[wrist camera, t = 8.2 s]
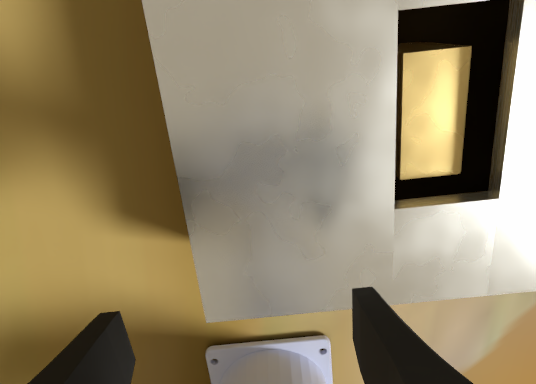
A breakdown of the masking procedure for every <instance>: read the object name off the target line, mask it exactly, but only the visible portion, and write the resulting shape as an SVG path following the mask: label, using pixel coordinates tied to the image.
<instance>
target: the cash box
mask: <svg viewBox="0 0 536 384" xmlns="http://www.w3.org/2000/svg"><path fill="white" fill-rule="evenodd" d="M479 1H488V0H142V4H143V9H144V14H145V19H146V24H147V29H148V34H149V39H150V44H151V49H152V54H153V59H154V64H155V69H156V74H157V79H158V84H159V89H160V94H161V99H162V104H163V109H164V114H165V119H166V124H167V129H168V134H169V139H170V144H171V149H172V154H173V159H174V164H175V169H176V174H177V179H178V184H179V189H180V194H181V199H182V204H183V208H184V213H185V218H186V223H187V228H188V233H189V238H190V243H191V248H192V253H193V258H194V263H195V268H196V273H197V278H198V283H199V288H200V293H201V298H202V303H203V308H204V313H205V318H206V323H210V322H221V321H231V320H241V319H252V318H262V317H272V316H283V315H293V314H303V313H313V312H324V311H334V310H344V309H352V288H362V287H373V288H374V289H376V291H377V292H378V293H379V294H380V295H381V297H382V298H383V299H384V300H385V301H386V302H387V304H388V305H396V304H406V303H417V302H427V301H437V300H448V299H458V298H468V297H479V296H489V295H499V294H510V293H520V292H530V291H536V0H510V4H509V13H508V22H507V30H506V39H505V48H504V57H503V65H502V74H501V83H500V92H499V100H498V109H497V118H496V127H495V135H494V144H493V153H492V162H491V170H490V179H489V188H488V191H482V192H472V193H463V194H453V195H443V196H433V197H423V198H414V199H404V200H395V151H396V98H397V45H398V10H407V9H416V8H425V7H434V6H443V5H452V4H461V3H470V2H479Z"/></svg>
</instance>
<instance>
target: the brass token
mask: <svg viewBox="0 0 536 384" xmlns="http://www.w3.org/2000/svg"><path fill="white" fill-rule="evenodd" d="M471 49H472V46H465V45H454V44H443V43H432V42H412V43H403V44H398V45H397V98H396V151H395V175H396V176H397V177H398V178H399V179H400V180H405V179H415V178H424V177H434V176H444V175H454V174H461V164H462V153H463V141H464V130H465V118H466V107H467V95H468V84H469V72H470V61H471Z"/></svg>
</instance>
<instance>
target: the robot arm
mask: <svg viewBox="0 0 536 384" xmlns="http://www.w3.org/2000/svg"><path fill="white" fill-rule="evenodd" d="M352 317H353V342H354V346H355V351H356V355H357V359H358V363H359V368H360V372H361V375H362V377H363V380H364V383H365V384H473V383H472V382H471V381H469V380H468V379H467V378H465V377H464V376H463V375H462V374H460V373H459V372H458V371H457V370H455V369H454V368H453V367H452V366H451V365H449V364H448V363H447V362H446V361H445V360H444V359H442V358H441V357H440V356H439V355H438V354H437V353H436V352H435V351H434V350H432V349H431V348H430V347H429V346H428V345H427V344H426V343H425V342H424V341H423V340H422V339H421V338H420V337H419V336H418V335H417V334H416V333H415V332H414V331H413V330H412V329H411V328H410V327H409V326H408V325H407V324H406V323H405V322H404V321H403V320H402V319H401V318H400V317H399V316H398V315H397V314H396V313H395V311H394V310H393V309H392V308H391V307H390V306H389V305H388V304H387V302H386V301H385V300H384V299H383V298H382V297H381V295H380V294H379V293H378V292H377V291H376V289H374V288H373V287H362V288H352ZM322 348H324V349H325V350H320V349H322ZM212 359H217V360H212ZM135 360H136V359H135V356H134V353H133V350H132V347H131V344H130V341H129V338H128V335H127V332H126V329H125V326H124V323H123V320H122V317H121V314H120V311H117V312H107V313H100V314H99V315H98V316H97V317H96V318H95V319H94V320H93V321H92V322H90V323H89V324H88V325H87V326H86V327H85V328H84V329H83V331H82V332H81V333H80V334H79V335H78V336H77V337H76V338H75V339H74V340H73V341H72V342H71V343H70V344H69V345H68V346H67V347H66V348H65V349H64V350H63V351H62V352H61V353H60V354H59V355H58V356H56V357H55V358H54V359H53V360H52V361H51V362H50V363H49V364H48V365H47V366H46V367H45V368H44V369H43V370H42V371H41V372H40V373H39V374H38V375H37V376H35V377H34V378H33V379H32V380H31V381H30V382H29V383H28V384H131V380H132V375H133V370H134V365H135ZM206 361H207V366H208V370H209V375H210V380H211V384H333V382H332V364H331V346H330V340H329V338H328V337H327V336H322V335H321V336H310V337H300V338H289V339H279V340H269V341H258V342H248V343H237V344H227V345H216V346H210V347H208V348H207V350H206Z"/></svg>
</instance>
